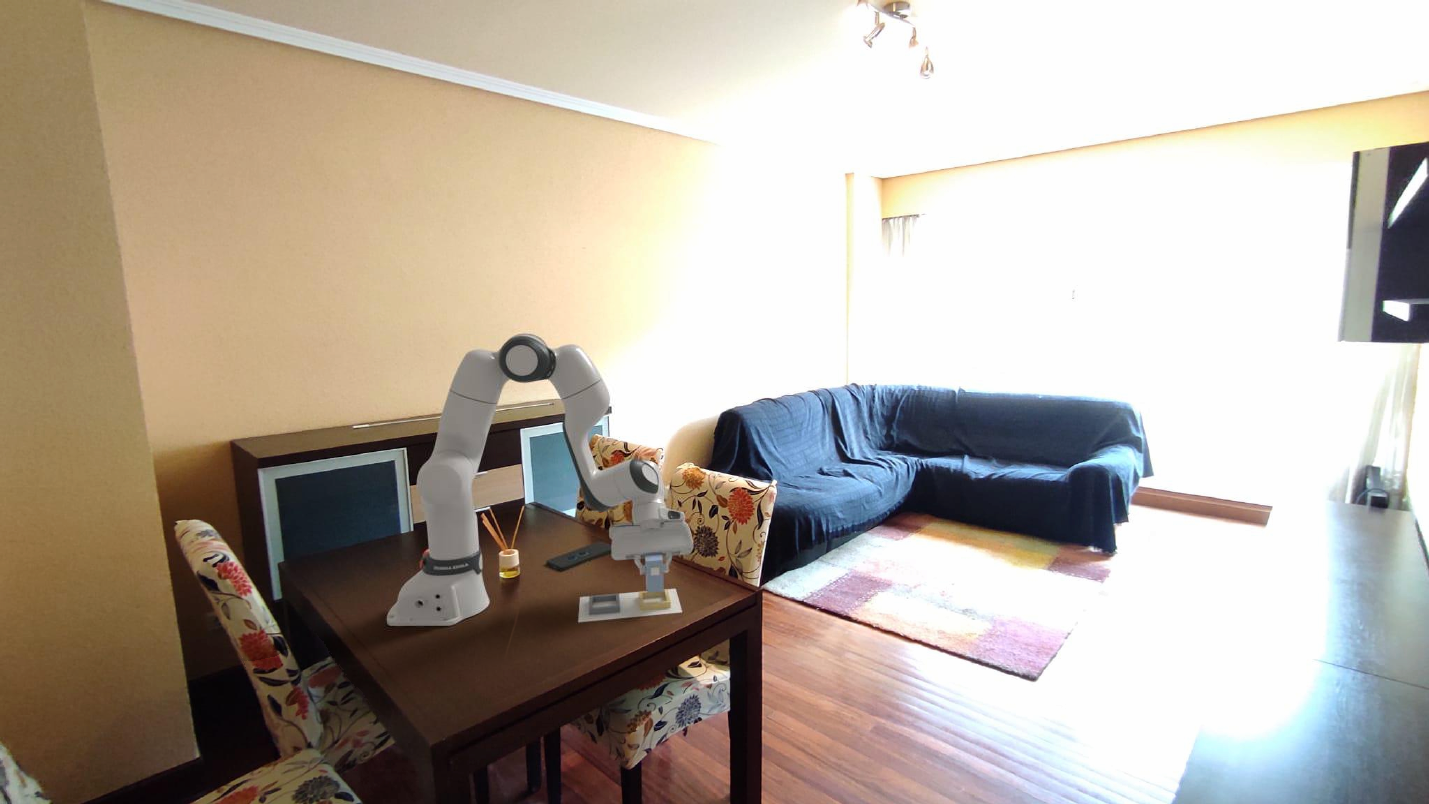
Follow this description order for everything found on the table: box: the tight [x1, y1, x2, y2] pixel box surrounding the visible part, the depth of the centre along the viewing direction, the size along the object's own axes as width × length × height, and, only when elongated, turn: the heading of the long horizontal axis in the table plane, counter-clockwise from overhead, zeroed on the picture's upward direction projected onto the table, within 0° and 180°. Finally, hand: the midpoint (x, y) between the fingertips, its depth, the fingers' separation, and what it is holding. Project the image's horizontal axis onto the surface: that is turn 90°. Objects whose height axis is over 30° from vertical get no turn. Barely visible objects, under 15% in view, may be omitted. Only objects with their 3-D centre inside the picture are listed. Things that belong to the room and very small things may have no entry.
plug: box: [644, 554, 665, 593], centre depth 150 cm, size 4×5×8 cm
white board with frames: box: [577, 588, 683, 623], centre depth 150 cm, size 24×13×2 cm, turn 101°
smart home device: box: [545, 540, 612, 572], centre depth 182 cm, size 8×2×20 cm
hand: (654, 572), depth 150 cm, fingers closed on plug, 4 cm apart
